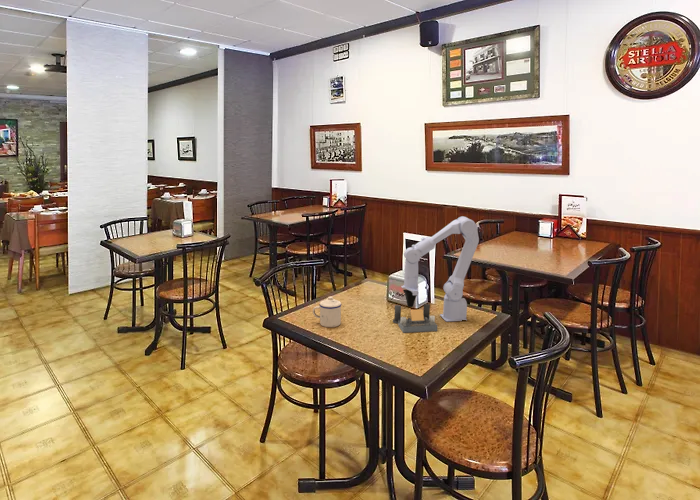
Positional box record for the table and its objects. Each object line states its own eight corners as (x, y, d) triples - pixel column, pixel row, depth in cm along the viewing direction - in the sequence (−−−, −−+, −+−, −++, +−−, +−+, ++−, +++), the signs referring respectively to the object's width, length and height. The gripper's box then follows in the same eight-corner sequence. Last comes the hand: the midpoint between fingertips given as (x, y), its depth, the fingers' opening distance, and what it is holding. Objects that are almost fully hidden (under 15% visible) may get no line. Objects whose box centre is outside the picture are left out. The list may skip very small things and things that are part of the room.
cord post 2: (429, 318, 193) (429, 303, 191) (432, 321, 189) (432, 306, 187) (420, 318, 192) (420, 303, 191) (423, 322, 188) (423, 306, 187)
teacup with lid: (342, 320, 190) (342, 294, 187) (339, 328, 181) (339, 301, 179) (315, 318, 191) (314, 293, 189) (310, 326, 183) (310, 299, 180)
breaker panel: (430, 323, 187) (431, 312, 186) (437, 331, 179) (437, 319, 178) (398, 325, 185) (398, 314, 184) (403, 332, 177) (403, 321, 176)
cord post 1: (400, 319, 191) (401, 304, 189) (403, 323, 187) (403, 307, 185) (391, 320, 190) (392, 304, 189) (393, 323, 186) (394, 307, 185)
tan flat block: (424, 321, 182) (422, 310, 183) (424, 321, 181) (423, 309, 182) (410, 322, 181) (409, 310, 183) (411, 322, 180) (410, 310, 181)
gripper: (397, 271, 195) (396, 301, 198) (406, 280, 181) (405, 312, 184) (413, 271, 196) (412, 300, 199) (423, 280, 182) (422, 311, 185)
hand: (410, 306), depth 191 cm, fingers closed
